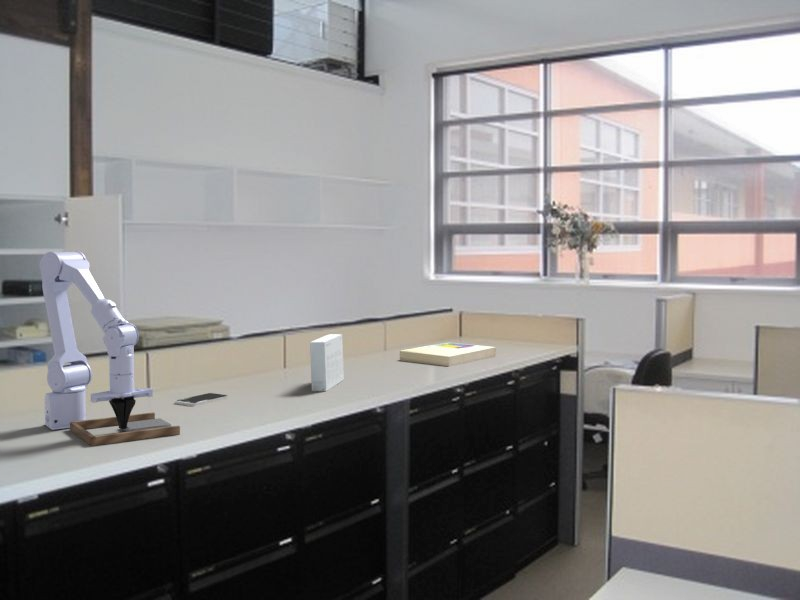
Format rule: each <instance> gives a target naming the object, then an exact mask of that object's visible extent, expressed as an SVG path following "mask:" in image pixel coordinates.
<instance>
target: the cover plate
mask: <svg viewBox="0 0 800 600" xmlns="http://www.w3.org/2000/svg"><path fill="white" fill-rule="evenodd" d="M170 426H172V424H171V423H170V422H167V421H166V420H164V419H162V418H160V417H159V418H155V419H150V420H142V421H134V422H128V423H127V429H121V430H122V431H123V430H124V431H123V432H131V431H138V430H146V429H154V428H162V427H170Z"/></svg>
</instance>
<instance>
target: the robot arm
mask: <svg viewBox="0 0 800 600" xmlns="http://www.w3.org/2000/svg"><path fill="white" fill-rule="evenodd" d="M38 264H39V265H38V266H39V271H40V277H41V281H42V283H41V286H42V293H43V298H44V303H45V309H46V315H47V320H48V324H49V330H50V331H49V332H50V335H51V340H52V341H51V342H52V346H53V352H54V355H53V356H52V357H51V358H50V359H49V360H48V362H47V363H46V365H47V374H46V381H47V384H48V386H49V388H50V389H51V390H52V392H46V393H45V395H44V425H46V426H47V428H49V429H50V430H52V431H55V430H63V429H70V422H74V421H83V420H87V417H86V416H87V414H86V413H87V412H86V408H87V407H86V389H88V386H89V384H91V381H92V380H93V379H92V378H93V370H92V368H91V367H90V365H89V363H88V359H87V356H86V355H85V354H83V353H82V352H80V351H79V350H78V346H77V341H76V335H75V330H74V326H73V319H72V314H71V308H70V304H69V303H70V302H69V298H68V291H67V290H68V289H69V287H70V286H71V285H72V284H75V286H76V287H77V288H78V290H79V291H80V292H81V293H82V295H83V296H84V297H85V299H86V301H87V302H89V304H90V306H91V310H90V313H91V315H92V317H93V318H94V320H95V321H96V323H97V324H98V326H99V327H100V329H101V330H102V332H103V333H104V336H102V339H103V343H104V345H105V347H106V351H107V352H106V353H107V355H108V357H109V364H108V365H109V390H106V391H101V392H94V393H90V402H91V403H94V404H95V403H99V402H100V403H101V402H106V401H107V402H108V403H109V404H110V406H111V408H112V410H113V412H114V414H115V417H116V418H117V421H118V425H117V426H118V428H119V429H120V430H122V429H127V423H128V419H129V416H130V415H131V413H132V411H133V409H134V407H135V405H136V402H137V401H136V399H137V398H145V397H148V398H151V397H153V395H154V392H153V388H151V387H145V388H135V351H134V349H135V347H134V346H136V344H138V342H139V340H140V339H139V338H140V334H139V330H138V328H137V326H136V325H135V324H134V323H131V322H129V321H128V320H126V319H125V318H124V317H123V315H122V314H121V312H120V310H119V309H118V308H117V303H115V302H114V301H113V300H111V299H106V298H105V297H104V295H103V293H102V291H101V290H100V288H99V286H98V284H97V283H96V280H95V279H94V276H92V275H93V274H92V273H91V271H90V266H91V264H90V261H89V260H87V257H86V255H85V254H84V253H83V252H82V251H62V252H61V251H48V252H46V253H45V254H44V255H43V256H42V258H41V260H40V261H39V263H38Z"/></svg>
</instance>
